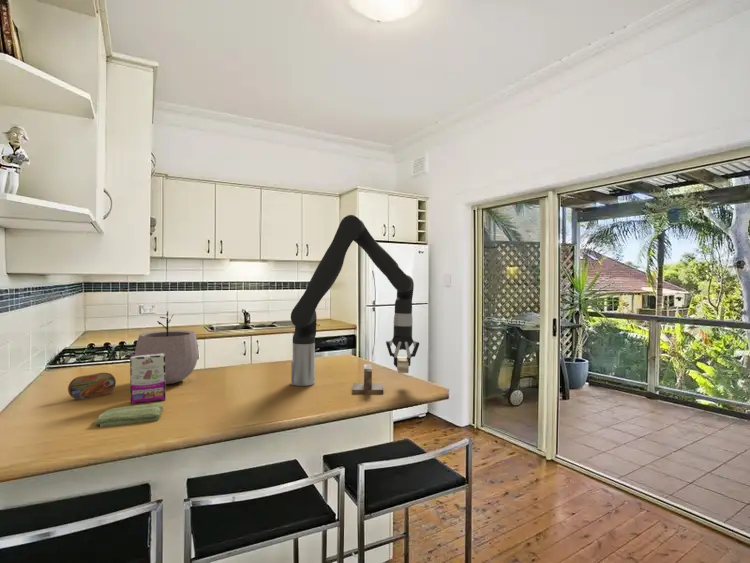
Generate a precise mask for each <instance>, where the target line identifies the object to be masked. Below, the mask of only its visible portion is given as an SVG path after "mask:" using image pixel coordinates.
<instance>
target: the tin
mask: <svg viewBox="0 0 750 563" xmlns="http://www.w3.org/2000/svg"><path fill="white" fill-rule="evenodd" d="M116 383H117V382H116V378H115V376H114V375H113V374H112V373H109V372H99V373H93V374H87V375H81V376H77V377H74V378H73V379H72V380H71V381H70V383H69V384H68V385H67V387H68V388H67V392H68V395H70V397H72V399H76V400H78V401H83V400H87V399H88V400H89V399H92V398H97V397H101V396H106V395H108V394H110V393H111V392H112V391H114V389H115V387H116Z"/></svg>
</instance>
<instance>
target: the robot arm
mask: <svg viewBox="0 0 750 563" xmlns="http://www.w3.org/2000/svg"><path fill="white" fill-rule="evenodd" d="M353 242H355V243H356V244H357V245H358V246H359V247H361V249H362V250H363V251H364V252H365V254H367V256H368V257H369V258H370V260H371V261H372V262H373V264H374V265H375V266H376V267H377V269H379V271H380V272H381V273H382V274H383V275H384V276H385V277H386V279H387V280H388V282H389V283H390V284H391V285H392V286H393V288H394V289H395V290H396V299H395V301H394V316H393V336H392V339H391V340H386V341H385V345H386V348H387V351H388V354H389V356H390V357H393V366H394V367H395V368H397V359H398V358H397V355H399V352H400V351H401V350H404V351H405V352H406V357H407V360H408V362H409V367H410V366H411V364H412V363H411V359H412V358H414V357H415V358H416V355H417V352H418V350H419V347H420V342H419V341H415V340H414V339H413V296H414V288H415V287H414V286H415V283H414V280H413V278H412V277H411V276H410V275H408V274H406V273H405V272H404V271H403V269H401V267H400V266H399V264H398V263H397V262H396V260H395V259H394V258H393V257H392V256H391V255H390V254H389V253H388V251H386V250H385V248H383V247H382V245H380V244H379V243H378V242H377V241H376V240H375V238H374V237H373V236H372V235H371V233H370V232H369V229H367V227H366V225H365V223H364V221H363V220H362V219H360V218H359V217H358V216H357V215H354V214H348V215H346V216H344V217H343V218H342V219H341V221H340V223H339V224H338V227H337V229H336V232H335V234H334V237H333V239H332V241H331V242H330V245H329V247H328V248H327V250H326V251H325V253H324V255H323V256H322V259H321V260H320V261H319V263H318V265H317V266H316V269H315V270H314V272H313V274H312V276H311V278H310V281H309V282H308V285H307V286H306V289H305V291H304V293H303V294H302V296H301V297H300V298H299V300H298V302H297V303H296V304H295V306H294V307H293V309H292V310H291V313H290V320H291V324H293V326H294V332H293V335H292V361H291V365H290V366H291V367H290V368H291V372H290V374H291V375H290V377H291V378H290V379H291V380H290V381H291V383H290V385H291V386H297V387H308V386H312V385H315V379H316V378H315V372H316V370H315V368H316V364H315V362H316V361H315V359H316V356H315V355H316V348H315V347H316V343H315V342H316V341H315V340H316V335H317V322H318V321H317V319H318V318H317V312H316V309H317V307H318V306H319V303H320V302H321V300H322V299H323V297H324V296H325V295H326V294H327V293H328V291H330V289H331V288H332V287H333V285H334V284H335V282H336V280H337V278H338V277H339V275H340V272H341V271H342V268H343V266H344V263H345V262H344V261H345V258H346V255H347V252H348V250H349V248H350V246H351V245H352V243H353ZM393 345H394V347H395V349H394V352H393V351H392V348H391V347H392V346H393ZM412 346H413V349H412V352H411V351H410V347H412Z"/></svg>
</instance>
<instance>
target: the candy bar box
mask: <svg viewBox="0 0 750 563" xmlns="http://www.w3.org/2000/svg"><path fill="white" fill-rule="evenodd" d="M129 369H130V370H129V371H130V372H129V373H130V374H129V375H130V378H129V379H130V381H129V382H130V400H129V401H130V404H131V405H136V404H145V403H155V402H160V401H166V384H165V353H163V354H150V355H137V356H135V355H131V356H130V357H129Z"/></svg>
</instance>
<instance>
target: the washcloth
mask: <svg viewBox="0 0 750 563" xmlns="http://www.w3.org/2000/svg"><path fill="white" fill-rule="evenodd" d="M163 410H164V405H163V404H162V403H160V402H151V403H148V404H138V405H128V406H120V407H114V408H110V409H106V410H104V412H103V413H101V414H99V415H98V418H96V419H94V425H99V427H100V428H106V427H107V428H108V427H115V426H124V425H133V424H140V423H149V422H154V421H155V422H156V421H159V420H160V418H161V415H162V412H163Z"/></svg>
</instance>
